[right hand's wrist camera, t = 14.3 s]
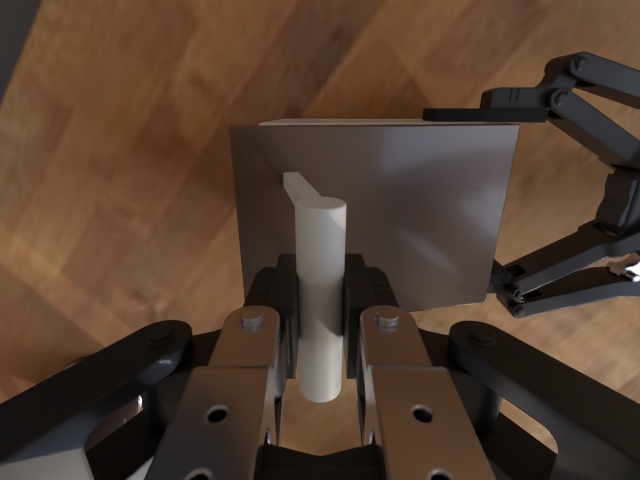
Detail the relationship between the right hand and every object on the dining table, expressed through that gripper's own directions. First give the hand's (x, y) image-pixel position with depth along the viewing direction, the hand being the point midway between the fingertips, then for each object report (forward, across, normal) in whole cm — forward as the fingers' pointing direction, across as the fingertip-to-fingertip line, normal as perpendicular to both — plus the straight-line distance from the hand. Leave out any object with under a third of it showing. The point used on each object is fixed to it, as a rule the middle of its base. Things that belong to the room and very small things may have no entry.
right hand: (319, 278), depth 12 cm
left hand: (+12, -7, 0) cm, 14 cm away
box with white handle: (+6, -3, 0) cm, 7 cm away
